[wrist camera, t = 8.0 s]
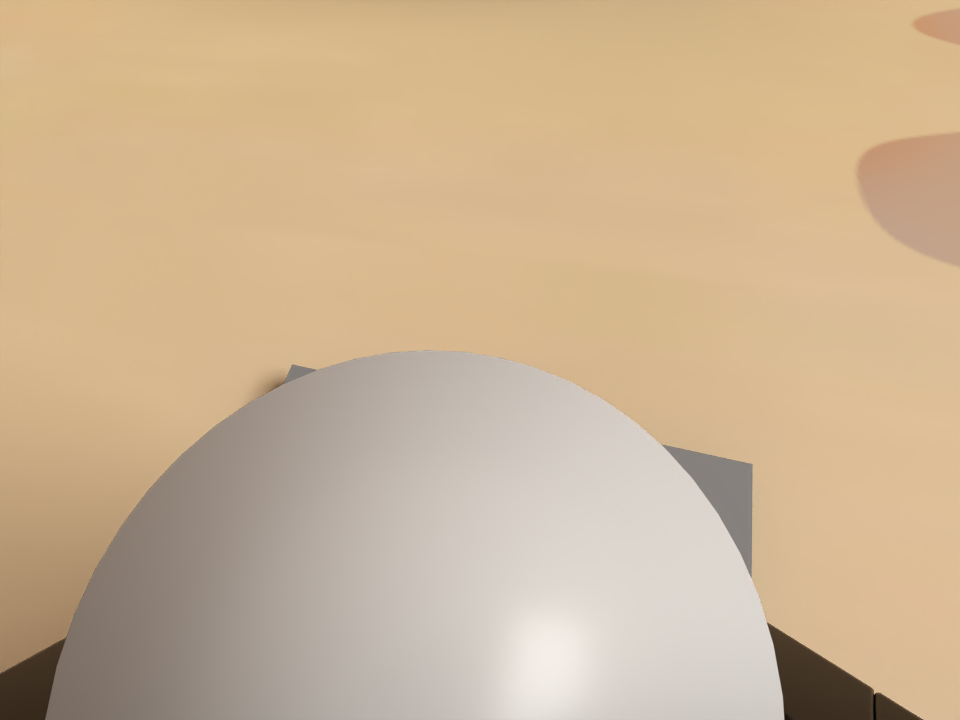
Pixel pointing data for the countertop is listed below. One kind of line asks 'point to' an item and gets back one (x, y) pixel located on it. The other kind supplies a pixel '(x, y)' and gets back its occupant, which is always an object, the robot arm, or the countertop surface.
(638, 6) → the countertop surface
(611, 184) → the countertop surface
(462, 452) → the salt shaker
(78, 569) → the countertop surface
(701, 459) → the mat
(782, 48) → the countertop surface
